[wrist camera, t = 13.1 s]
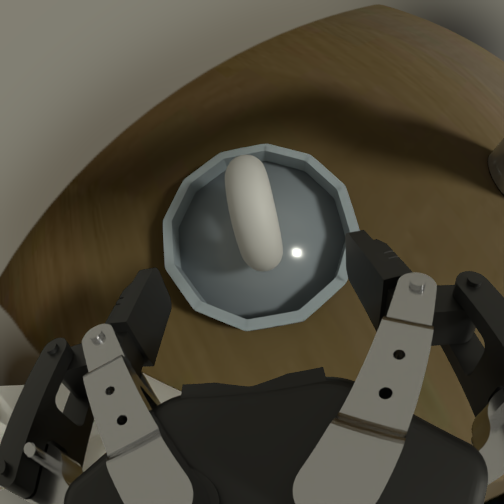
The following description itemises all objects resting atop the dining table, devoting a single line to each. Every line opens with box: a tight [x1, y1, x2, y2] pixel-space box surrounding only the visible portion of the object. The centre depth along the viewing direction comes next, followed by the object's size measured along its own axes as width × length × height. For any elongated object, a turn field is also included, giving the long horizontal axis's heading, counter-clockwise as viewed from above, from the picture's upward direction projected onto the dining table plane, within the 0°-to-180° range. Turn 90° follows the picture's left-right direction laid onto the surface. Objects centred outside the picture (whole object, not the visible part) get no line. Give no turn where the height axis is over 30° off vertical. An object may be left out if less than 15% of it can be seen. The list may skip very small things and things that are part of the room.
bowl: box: [163, 144, 360, 331], centre depth 27 cm, size 19×19×3 cm
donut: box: [225, 155, 283, 272], centre depth 23 cm, size 10×3×10 cm, turn 10°
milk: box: [0, 373, 182, 490], centre depth 14 cm, size 6×6×22 cm
